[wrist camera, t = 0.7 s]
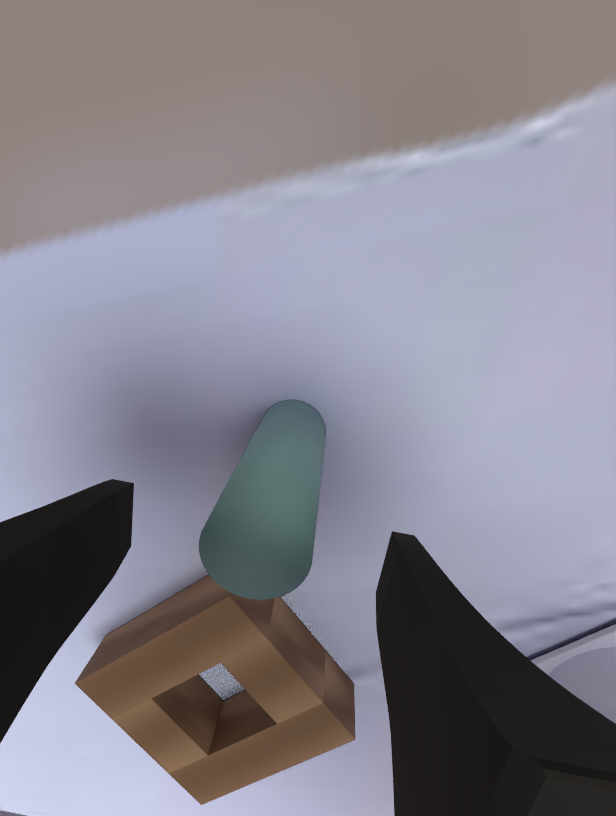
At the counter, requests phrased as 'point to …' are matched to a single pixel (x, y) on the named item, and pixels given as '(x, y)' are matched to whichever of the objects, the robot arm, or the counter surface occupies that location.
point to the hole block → (202, 708)
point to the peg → (269, 507)
